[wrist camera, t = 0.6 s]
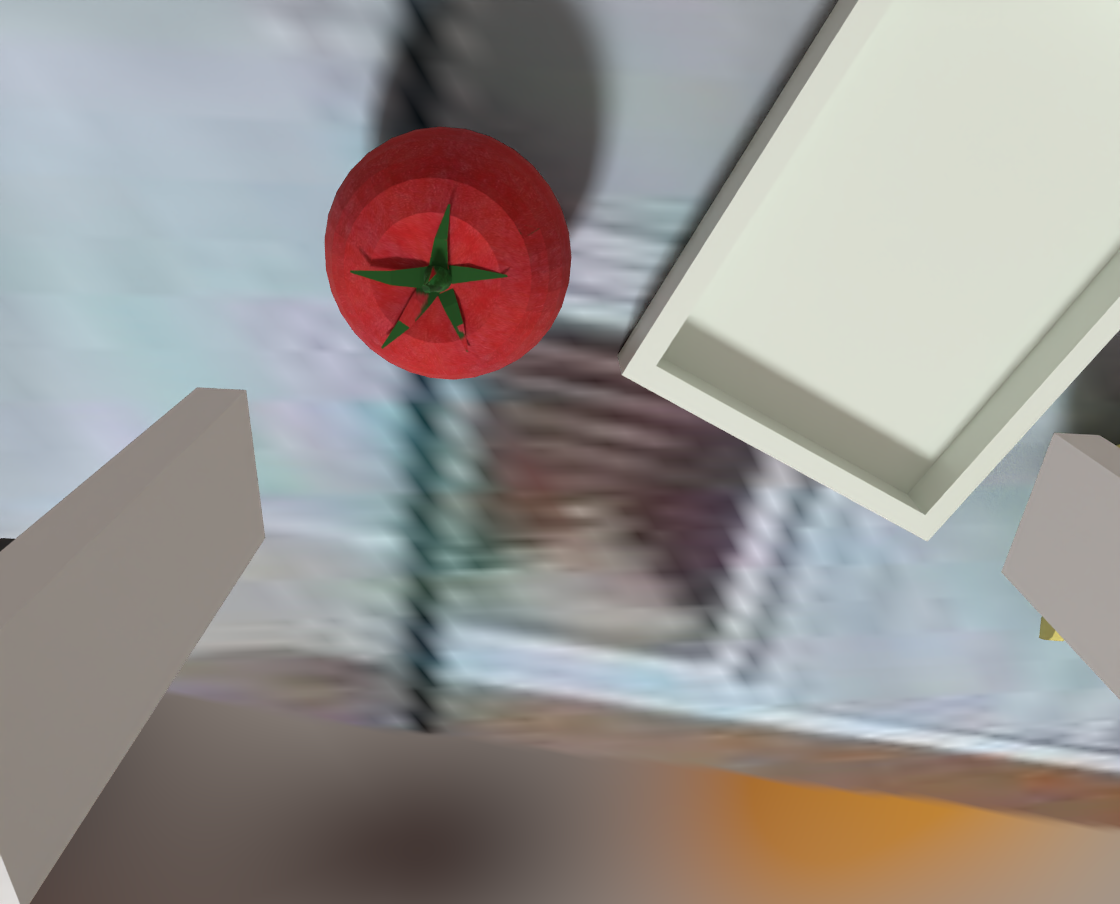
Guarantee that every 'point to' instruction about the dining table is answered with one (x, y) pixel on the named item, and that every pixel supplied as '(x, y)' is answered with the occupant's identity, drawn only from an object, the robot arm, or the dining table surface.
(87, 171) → the dining table surface
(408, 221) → the tomato
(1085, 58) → the tray
